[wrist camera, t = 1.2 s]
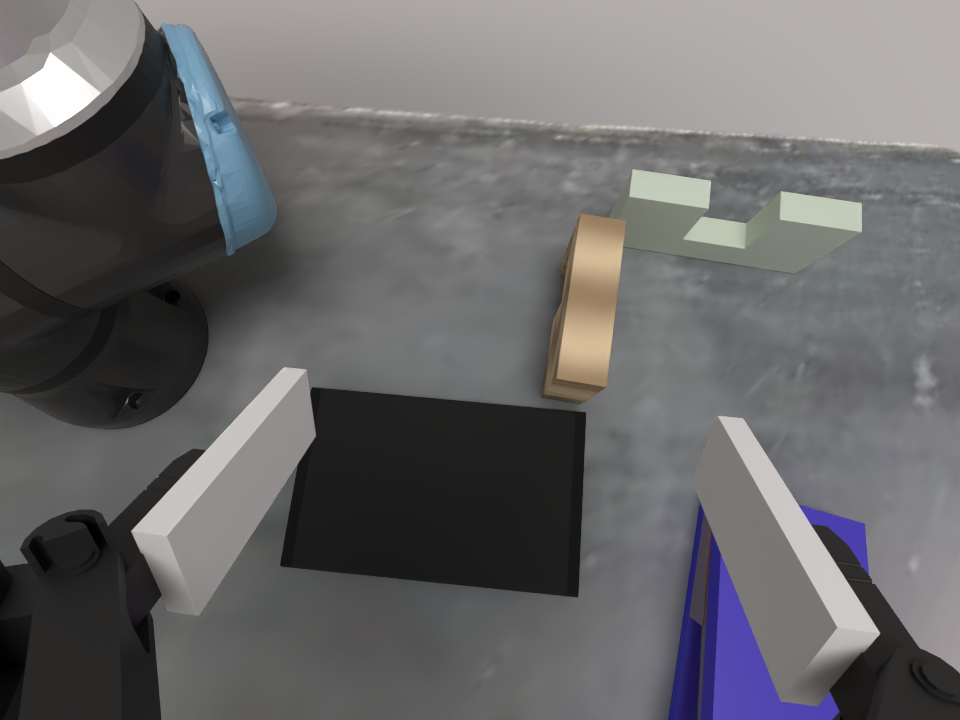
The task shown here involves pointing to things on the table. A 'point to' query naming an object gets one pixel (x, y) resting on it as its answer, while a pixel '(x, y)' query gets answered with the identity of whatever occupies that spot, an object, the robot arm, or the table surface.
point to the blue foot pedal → (735, 640)
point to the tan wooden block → (585, 311)
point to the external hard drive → (440, 492)
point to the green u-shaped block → (731, 224)
